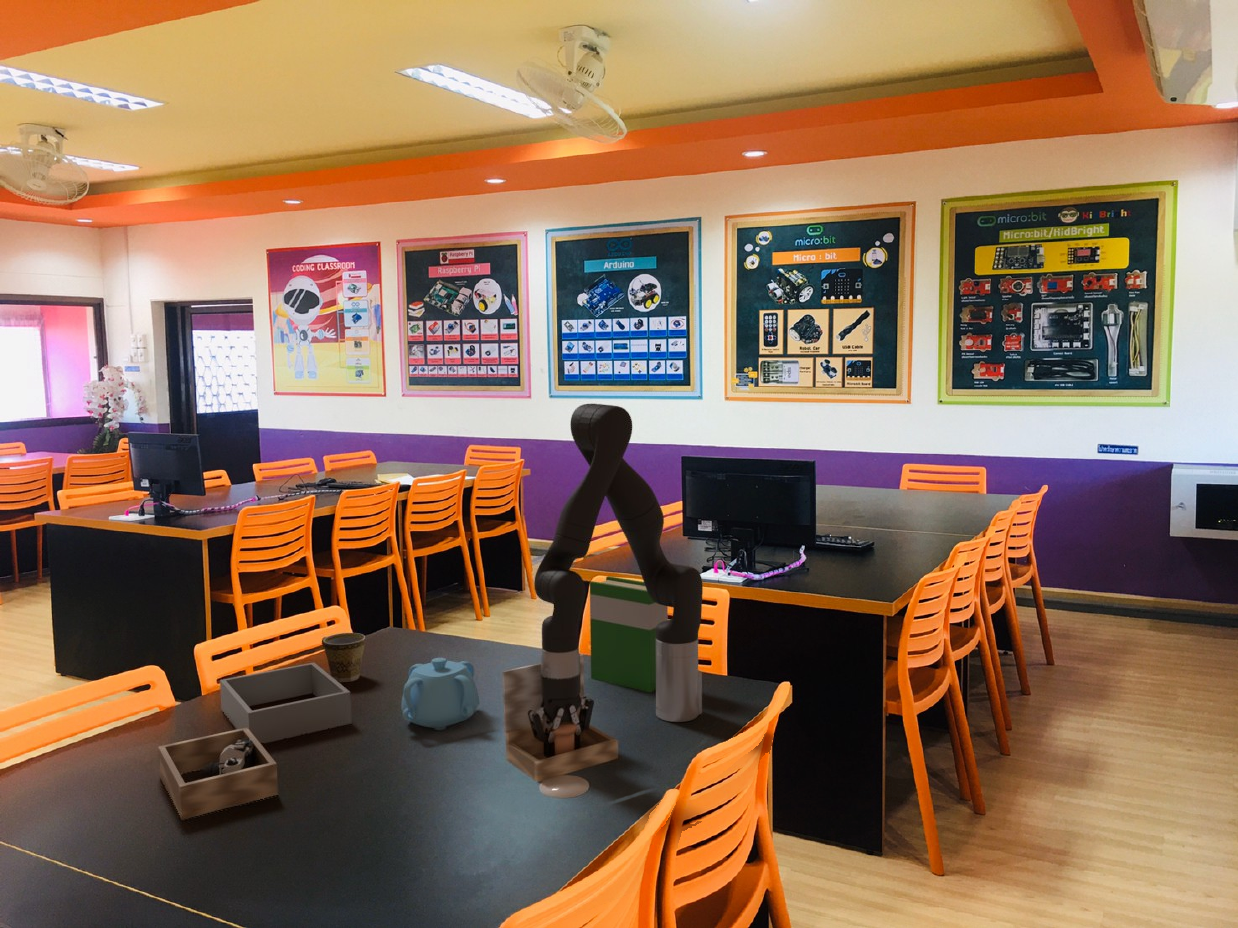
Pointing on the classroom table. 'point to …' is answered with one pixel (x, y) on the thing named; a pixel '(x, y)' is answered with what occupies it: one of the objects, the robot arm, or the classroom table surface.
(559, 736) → the pot
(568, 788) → the saucer
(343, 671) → the ceramic cup
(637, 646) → the hardback book
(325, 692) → the tray
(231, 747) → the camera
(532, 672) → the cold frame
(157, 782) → the classroom table surface
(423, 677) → the decorative pot
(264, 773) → the camera cubby
